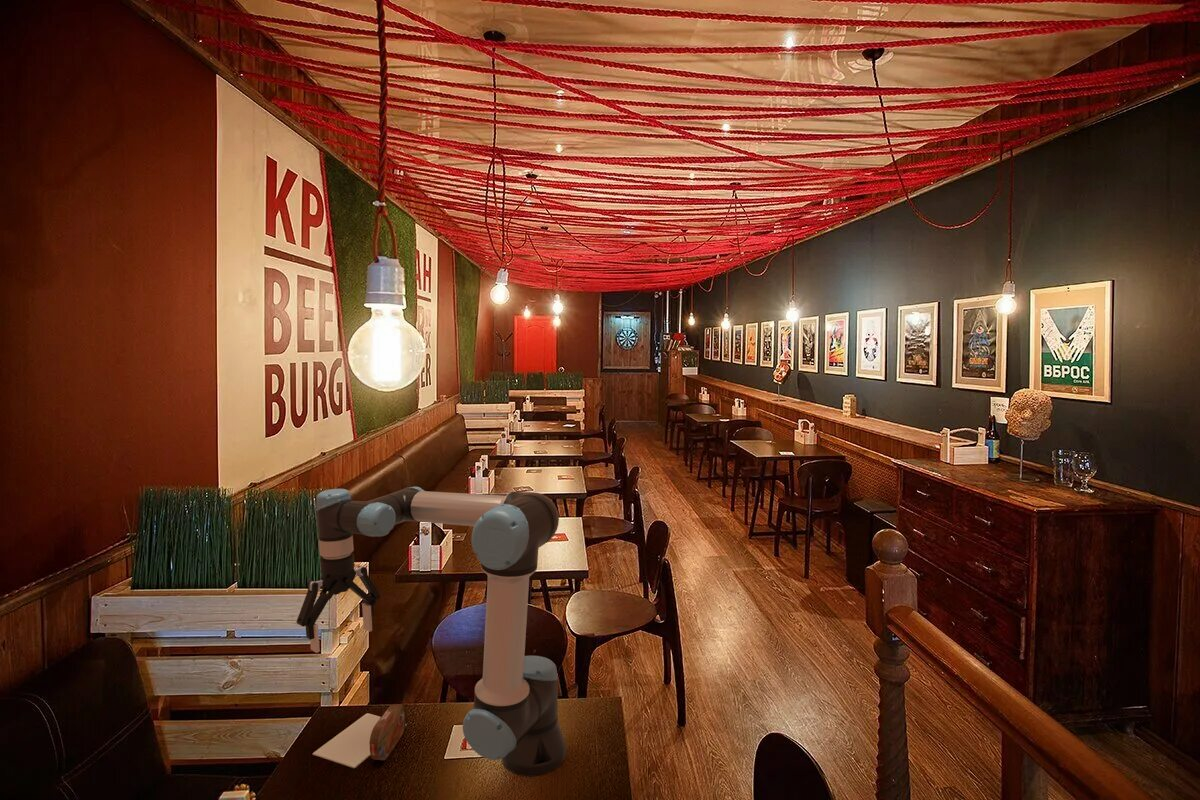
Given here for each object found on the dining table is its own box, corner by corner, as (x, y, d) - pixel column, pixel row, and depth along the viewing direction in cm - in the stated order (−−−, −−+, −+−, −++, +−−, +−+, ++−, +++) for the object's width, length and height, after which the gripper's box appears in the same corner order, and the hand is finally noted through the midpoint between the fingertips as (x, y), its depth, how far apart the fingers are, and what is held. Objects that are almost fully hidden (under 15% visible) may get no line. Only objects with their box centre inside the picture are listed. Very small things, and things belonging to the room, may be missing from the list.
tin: (380, 768, 150) (379, 734, 149) (367, 767, 151) (366, 733, 150) (407, 728, 165) (407, 697, 164) (395, 727, 166) (395, 696, 165)
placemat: (406, 725, 167) (406, 724, 167) (354, 768, 151) (354, 767, 151) (367, 714, 172) (367, 713, 172) (312, 754, 156) (312, 753, 156)
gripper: (375, 538, 168) (379, 618, 170) (276, 566, 149) (283, 655, 151) (391, 543, 163) (396, 625, 165) (292, 573, 144) (299, 665, 146)
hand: (342, 640), depth 158 cm, fingers open, 13 cm apart
